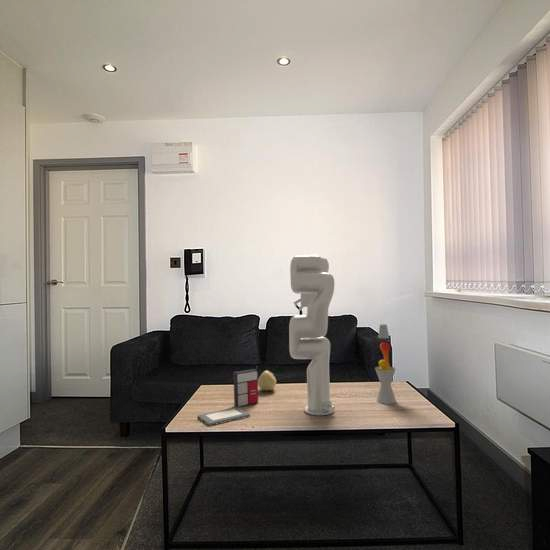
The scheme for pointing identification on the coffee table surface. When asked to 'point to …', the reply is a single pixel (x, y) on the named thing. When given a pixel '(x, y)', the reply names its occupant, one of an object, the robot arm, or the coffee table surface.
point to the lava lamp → (385, 370)
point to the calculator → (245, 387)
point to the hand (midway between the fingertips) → (310, 317)
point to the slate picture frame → (223, 415)
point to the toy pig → (267, 381)
